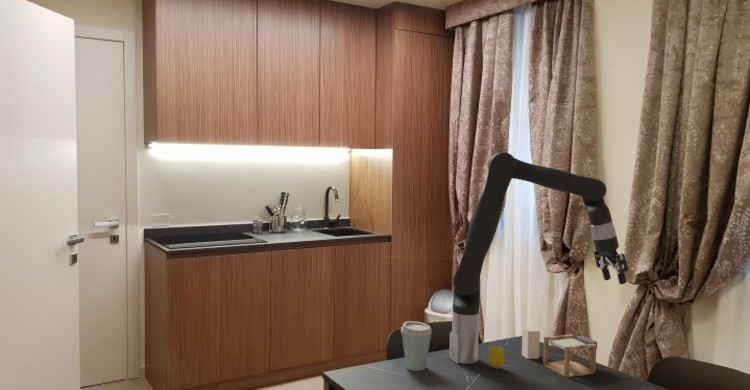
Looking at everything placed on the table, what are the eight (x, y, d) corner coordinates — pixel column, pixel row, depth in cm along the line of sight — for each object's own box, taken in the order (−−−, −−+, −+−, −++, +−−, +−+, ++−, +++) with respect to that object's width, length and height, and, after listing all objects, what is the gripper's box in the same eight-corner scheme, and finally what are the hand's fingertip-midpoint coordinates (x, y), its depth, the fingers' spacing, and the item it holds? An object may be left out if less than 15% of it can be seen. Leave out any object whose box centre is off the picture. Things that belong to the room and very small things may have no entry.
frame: (566, 377, 176) (567, 348, 175) (542, 364, 187) (543, 337, 187) (595, 373, 180) (596, 344, 179) (570, 361, 191) (571, 334, 191)
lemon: (504, 372, 179) (505, 349, 179) (487, 371, 180) (488, 347, 180) (504, 366, 184) (504, 343, 184) (487, 365, 185) (488, 342, 185)
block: (527, 358, 193) (528, 331, 192) (521, 354, 197) (522, 327, 197) (538, 358, 193) (539, 331, 193) (533, 354, 198) (534, 327, 197)
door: (567, 353, 177) (568, 346, 177) (549, 345, 186) (549, 338, 186) (599, 349, 182) (599, 342, 182) (580, 341, 190) (580, 334, 190)
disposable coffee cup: (433, 364, 186) (434, 321, 185) (429, 375, 175) (430, 330, 175) (402, 361, 188) (403, 318, 187) (397, 372, 178) (398, 327, 177)
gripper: (582, 237, 188) (593, 281, 189) (607, 240, 174) (618, 288, 175) (601, 231, 190) (612, 275, 190) (627, 234, 176) (638, 281, 176)
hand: (615, 281), depth 183 cm, fingers open, 8 cm apart
